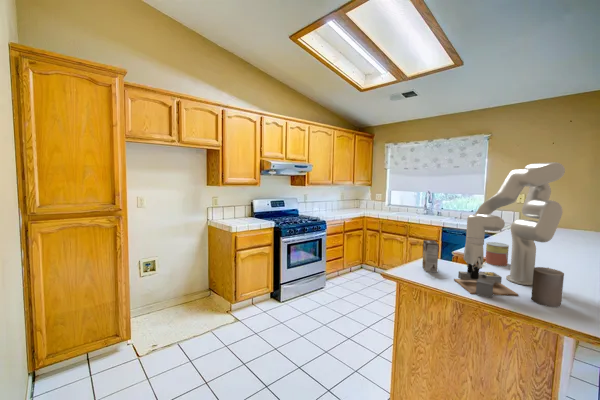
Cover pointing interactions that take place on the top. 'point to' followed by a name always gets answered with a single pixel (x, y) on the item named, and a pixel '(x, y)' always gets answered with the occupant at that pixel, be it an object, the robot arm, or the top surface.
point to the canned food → (497, 254)
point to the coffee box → (430, 255)
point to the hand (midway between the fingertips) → (472, 276)
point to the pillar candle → (547, 286)
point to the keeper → (485, 287)
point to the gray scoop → (481, 274)
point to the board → (497, 288)
